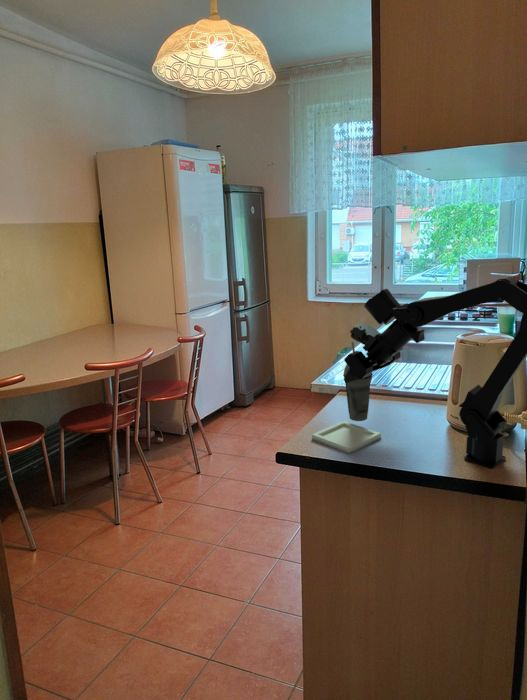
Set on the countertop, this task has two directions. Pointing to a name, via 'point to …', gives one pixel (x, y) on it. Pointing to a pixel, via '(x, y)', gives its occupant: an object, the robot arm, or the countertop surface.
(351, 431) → the tray
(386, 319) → the robot arm
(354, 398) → the beverage cup
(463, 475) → the countertop surface
